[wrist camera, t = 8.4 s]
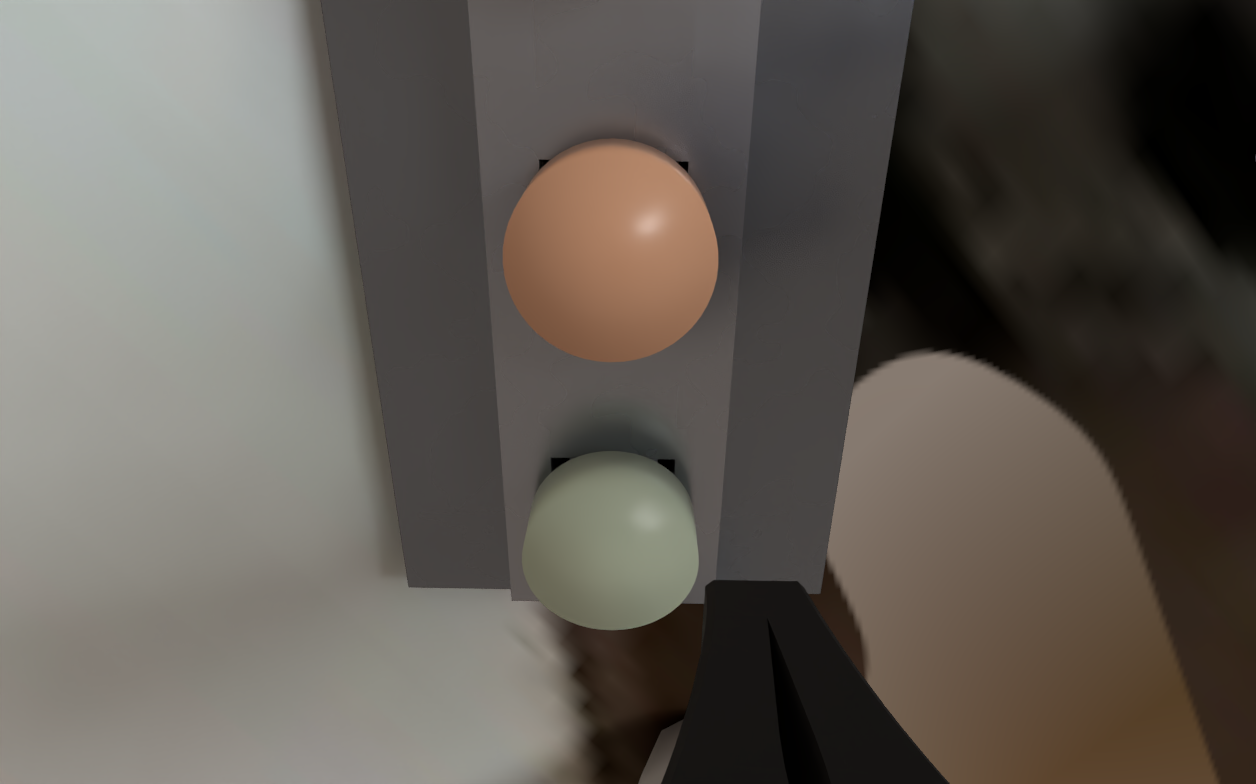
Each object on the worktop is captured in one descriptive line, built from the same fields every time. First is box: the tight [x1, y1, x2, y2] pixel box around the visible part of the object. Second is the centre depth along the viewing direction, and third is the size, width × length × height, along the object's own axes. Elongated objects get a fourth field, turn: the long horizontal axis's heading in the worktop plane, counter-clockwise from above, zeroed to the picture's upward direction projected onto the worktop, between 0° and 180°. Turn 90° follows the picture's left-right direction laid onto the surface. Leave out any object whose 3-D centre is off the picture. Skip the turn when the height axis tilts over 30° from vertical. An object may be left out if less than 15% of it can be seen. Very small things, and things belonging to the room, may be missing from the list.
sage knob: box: [522, 451, 699, 630], centre depth 19 cm, size 4×4×4 cm
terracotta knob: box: [503, 138, 718, 362], centre depth 16 cm, size 4×4×4 cm
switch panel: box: [321, 0, 914, 604], centre depth 17 cm, size 12×22×3 cm, turn 179°
